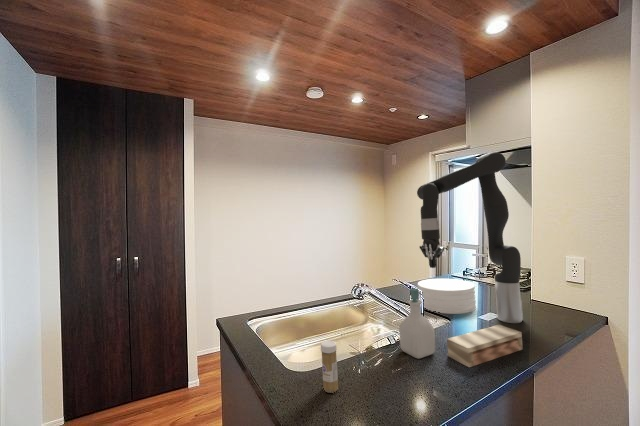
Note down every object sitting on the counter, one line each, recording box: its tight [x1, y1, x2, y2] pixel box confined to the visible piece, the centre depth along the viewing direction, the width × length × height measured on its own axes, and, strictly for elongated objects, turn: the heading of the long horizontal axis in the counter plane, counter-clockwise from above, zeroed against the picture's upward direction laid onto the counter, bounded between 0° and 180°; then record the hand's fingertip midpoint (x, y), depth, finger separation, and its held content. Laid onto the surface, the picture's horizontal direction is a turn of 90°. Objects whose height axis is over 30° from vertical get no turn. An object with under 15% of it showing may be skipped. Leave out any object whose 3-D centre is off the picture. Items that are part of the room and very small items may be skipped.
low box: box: [446, 324, 524, 368], centre depth 101 cm, size 26×8×6 cm, turn 112°
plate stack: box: [417, 278, 477, 315], centre depth 156 cm, size 28×28×12 cm
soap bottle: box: [398, 288, 436, 360], centre depth 104 cm, size 10×10×23 cm
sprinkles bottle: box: [320, 340, 339, 392], centre depth 84 cm, size 5×5×14 cm
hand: (432, 267), depth 129 cm, fingers closed
